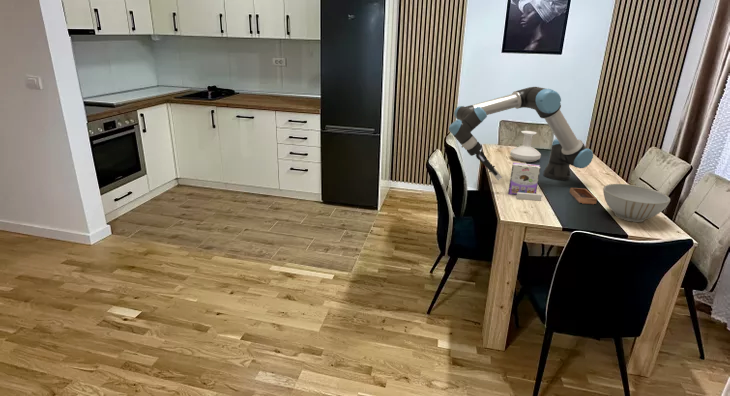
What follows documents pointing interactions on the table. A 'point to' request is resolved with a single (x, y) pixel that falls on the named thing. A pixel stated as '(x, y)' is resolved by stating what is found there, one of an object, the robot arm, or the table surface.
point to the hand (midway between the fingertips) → (499, 178)
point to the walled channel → (529, 196)
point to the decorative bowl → (634, 201)
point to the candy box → (524, 178)
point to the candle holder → (526, 149)
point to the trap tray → (583, 196)
